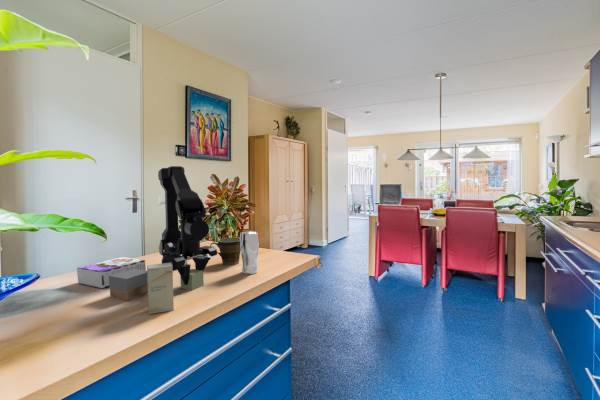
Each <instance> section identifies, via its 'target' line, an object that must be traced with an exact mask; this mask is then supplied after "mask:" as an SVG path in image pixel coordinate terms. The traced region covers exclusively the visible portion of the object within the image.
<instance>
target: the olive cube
mask: <svg viewBox="0 0 600 400" xmlns="http://www.w3.org/2000/svg"><path fill="white" fill-rule="evenodd" d="M179 277H180V289H185V290H190V291H194V290H197V289H198V288H201V287H203V286H204V284H205V283H204V271H203V270H196V269H195V268H190V273H189V280H188V284H187V285H185V284H184V283H183V280H182V278H181V276H180V275H179Z"/></svg>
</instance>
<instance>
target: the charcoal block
mask: <svg viewBox="0 0 600 400" xmlns="http://www.w3.org/2000/svg"><path fill="white" fill-rule="evenodd" d="M145 284H148V282H147V270H146V271H144V270H138V269H131V270H127V271H124V272H120V273H117V274H113V275H110V276H109V286H108V287H109V288H110V287H111V288H116V289H120V290H125V291H128V290H131V289H134V288H137V287H139V286H142V285H145Z"/></svg>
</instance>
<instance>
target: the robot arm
mask: <svg viewBox="0 0 600 400" xmlns="http://www.w3.org/2000/svg"><path fill="white" fill-rule="evenodd" d="M157 178H158V180H159V183H160V185H161V187H162V189H163V190H164V203H165V207H164V208H165V210H164V211H165V229H164V230H163V232H162V233H161V239H160V241H159V245H158V253H159V254H160V256H162V258H161V264H162V263H170V262H171V263H172V267H173V271H175V270H177V271H178V273H179V277H180V276H181V278H182V280H183V283H184V284H185V285H187V284H188V280H189V273H190V269H191V263H190V264H189V263H188V261H190V260H193V261H192V262H194V265H195V266H194V267H195V268H194V269H196V270H203V272H204V271H205V269H206V267H207V265H208V263H209V261H210V260H212V257H215V256H218V253H217V252H218V249H217V248H216V246H212V245H211V246H210V245H203V246H201V241H203V239H205V238H206V237H208V235H209V232H210V226H209V224H208V222H206V221H204V220H203V218H206V216H207V215H206V214H207V210H206V208H205V206H204V203H203V201H202V199H201V197H200V196H199V194H198V193H197V192H196V191H194V190H192V188H191V186H190V184H189V182H188V179H187V176H186V174H185V168H184V166H181V165H180V166H178V165H175V166H173V165H172V166H171V165H170V166H168V167H162V168H161V169H159V170H158V173H157ZM179 219H180V221H179ZM179 222H180V223H179ZM179 224H180V229H179ZM208 256H209V257H208ZM181 278H180V279H181Z"/></svg>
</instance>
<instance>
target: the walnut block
mask: <svg viewBox="0 0 600 400" xmlns="http://www.w3.org/2000/svg"><path fill="white" fill-rule="evenodd" d="M109 293H110V298H112V299H115V300H116V299H117V300H121V301H124V302H131V301H133V300H136V299H138V298H140V297H144V296H145V295H148V284H145V285H142V286H139V287H137V288H134V289H131V290H128V291H125V290H120V289H116V288H111V287H109Z"/></svg>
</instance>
